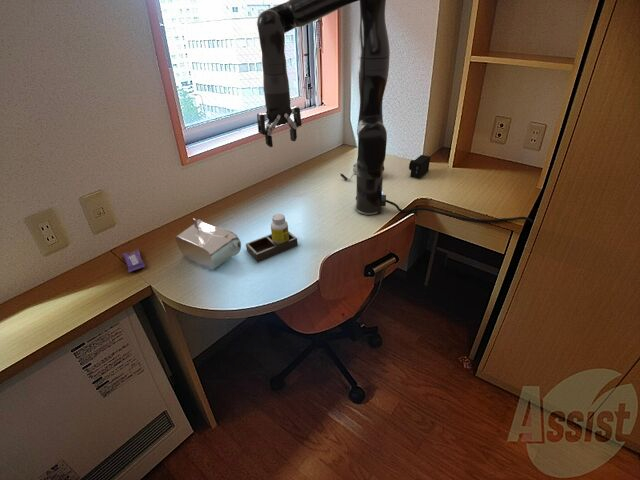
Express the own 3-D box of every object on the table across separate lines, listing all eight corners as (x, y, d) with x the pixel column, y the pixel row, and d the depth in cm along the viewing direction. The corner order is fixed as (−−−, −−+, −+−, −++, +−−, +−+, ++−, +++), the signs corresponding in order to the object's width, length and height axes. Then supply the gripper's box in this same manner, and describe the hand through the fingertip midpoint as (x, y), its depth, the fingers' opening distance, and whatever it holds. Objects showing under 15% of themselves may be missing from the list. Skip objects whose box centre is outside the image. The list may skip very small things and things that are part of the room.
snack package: (144, 263, 108) (127, 270, 106) (146, 268, 109) (129, 275, 107) (137, 246, 116) (121, 251, 114) (139, 251, 117) (123, 256, 115)
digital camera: (417, 168, 164) (418, 154, 160) (428, 171, 161) (430, 156, 158) (407, 176, 157) (409, 161, 153) (419, 179, 154) (421, 163, 151)
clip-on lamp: (352, 191, 154) (386, 173, 158) (350, 179, 149) (385, 161, 154) (338, 179, 162) (370, 163, 166) (336, 167, 158) (369, 151, 162)
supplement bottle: (286, 248, 114) (284, 221, 108) (270, 246, 115) (267, 220, 109) (291, 239, 118) (288, 213, 113) (275, 237, 119) (272, 211, 114)
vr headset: (244, 256, 112) (236, 216, 104) (216, 275, 105) (205, 234, 97) (206, 239, 121) (196, 201, 113) (177, 256, 114) (165, 216, 106)
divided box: (297, 245, 116) (297, 238, 114) (257, 262, 109) (256, 254, 107) (285, 235, 121) (285, 228, 119) (246, 251, 114) (245, 243, 113)
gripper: (261, 95, 100) (268, 151, 109) (303, 88, 107) (306, 141, 116) (249, 91, 105) (256, 145, 114) (290, 84, 112) (294, 136, 121)
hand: (282, 143), depth 115 cm, fingers open, 8 cm apart
